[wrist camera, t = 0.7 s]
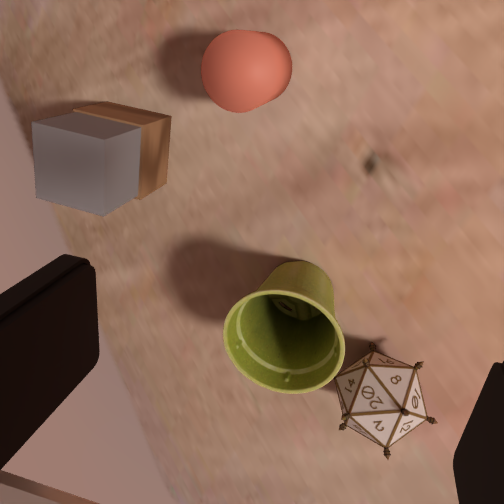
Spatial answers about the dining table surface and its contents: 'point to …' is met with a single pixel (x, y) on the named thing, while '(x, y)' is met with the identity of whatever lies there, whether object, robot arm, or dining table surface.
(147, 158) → the tower base
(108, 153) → the tower top
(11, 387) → the robot arm
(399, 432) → the game die
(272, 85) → the cylinder
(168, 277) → the dining table surface
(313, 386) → the plant pot
